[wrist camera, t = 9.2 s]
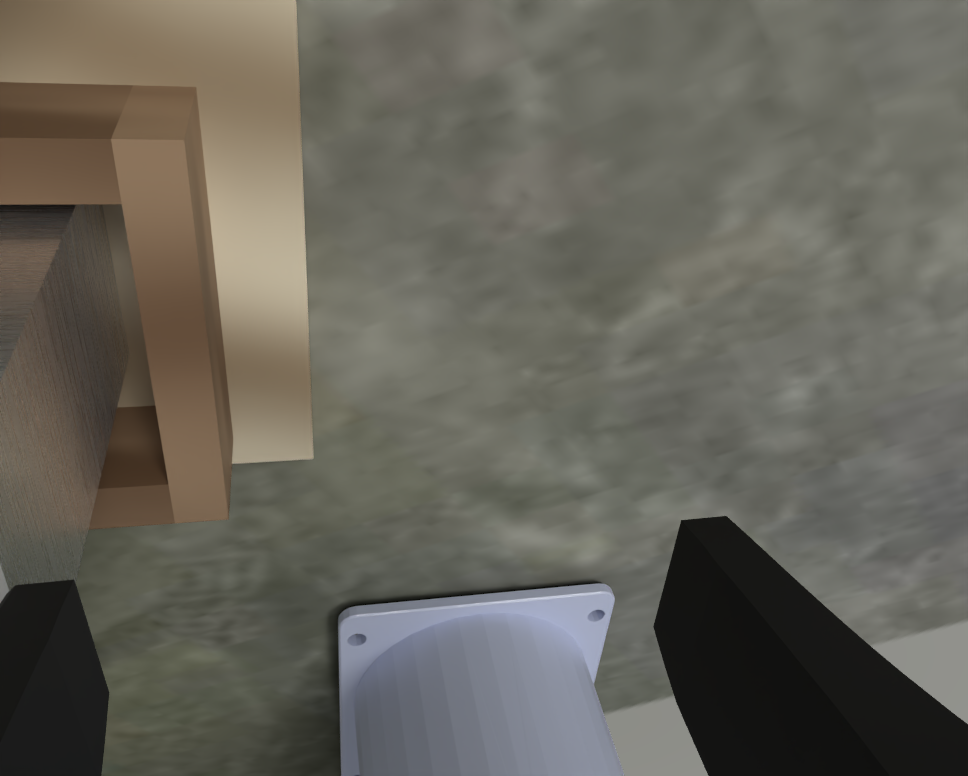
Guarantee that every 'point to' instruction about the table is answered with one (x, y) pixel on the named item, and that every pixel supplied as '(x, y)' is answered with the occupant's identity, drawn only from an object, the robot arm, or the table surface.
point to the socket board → (176, 225)
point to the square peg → (54, 384)
